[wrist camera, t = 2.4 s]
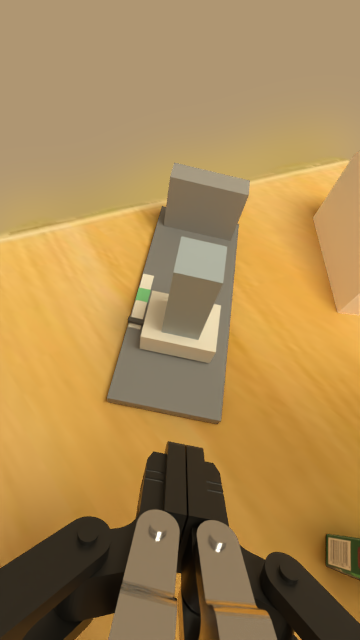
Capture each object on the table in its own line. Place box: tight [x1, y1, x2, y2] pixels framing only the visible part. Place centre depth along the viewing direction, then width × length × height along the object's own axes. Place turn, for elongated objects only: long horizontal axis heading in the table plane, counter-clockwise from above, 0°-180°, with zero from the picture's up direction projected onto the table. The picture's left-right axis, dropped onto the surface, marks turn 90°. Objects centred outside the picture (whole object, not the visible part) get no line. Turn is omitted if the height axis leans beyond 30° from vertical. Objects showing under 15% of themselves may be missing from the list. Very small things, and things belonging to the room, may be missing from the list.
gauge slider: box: [128, 236, 227, 363], centre depth 33 cm, size 10×14×13 cm
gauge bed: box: [107, 163, 250, 424], centre depth 37 cm, size 12×30×10 cm, turn 170°
